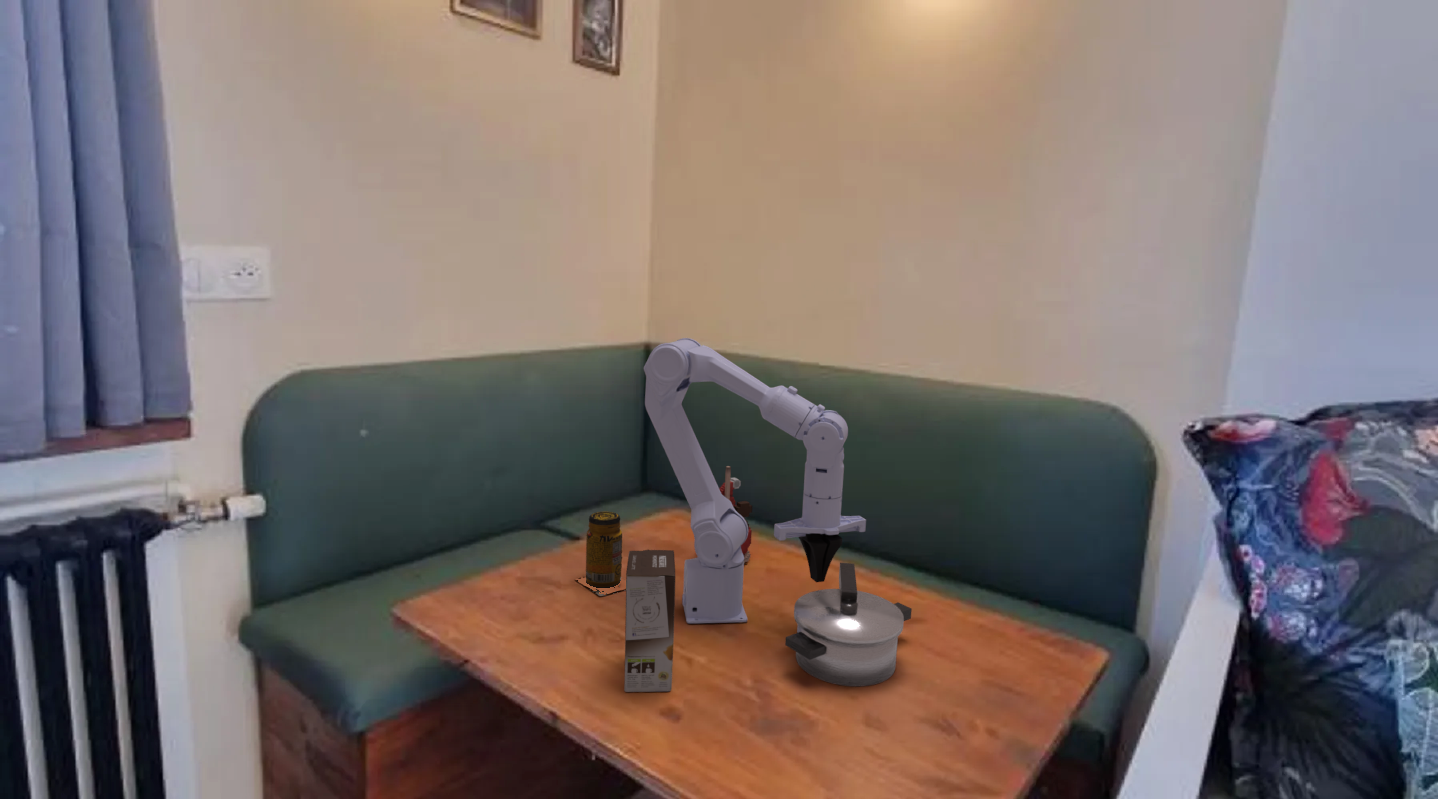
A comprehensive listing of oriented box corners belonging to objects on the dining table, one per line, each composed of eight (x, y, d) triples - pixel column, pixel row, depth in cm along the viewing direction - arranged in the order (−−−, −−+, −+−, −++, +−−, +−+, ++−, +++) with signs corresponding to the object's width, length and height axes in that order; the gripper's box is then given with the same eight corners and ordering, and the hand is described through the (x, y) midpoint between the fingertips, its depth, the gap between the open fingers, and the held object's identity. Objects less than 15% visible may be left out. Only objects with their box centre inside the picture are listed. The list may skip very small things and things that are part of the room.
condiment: (610, 571, 140) (611, 506, 138) (637, 587, 134) (638, 520, 132) (574, 580, 136) (574, 514, 134) (599, 598, 129) (600, 528, 127)
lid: (908, 650, 103) (910, 625, 102) (791, 639, 105) (793, 614, 104) (895, 589, 122) (896, 567, 121) (796, 580, 124) (797, 558, 123)
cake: (713, 573, 141) (717, 476, 138) (687, 556, 149) (690, 463, 145) (762, 563, 146) (766, 469, 143) (734, 546, 154) (738, 457, 151)
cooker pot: (833, 703, 101) (836, 660, 100) (761, 658, 112) (763, 618, 111) (940, 656, 114) (943, 617, 113) (867, 619, 125) (870, 583, 124)
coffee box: (673, 692, 102) (676, 575, 99) (623, 693, 102) (625, 575, 99) (671, 657, 111) (674, 549, 108) (625, 657, 111) (627, 548, 108)
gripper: (790, 505, 111) (785, 595, 114) (879, 497, 116) (872, 584, 119) (769, 491, 118) (765, 576, 120) (854, 484, 123) (848, 566, 125)
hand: (817, 579), depth 120 cm, fingers closed
